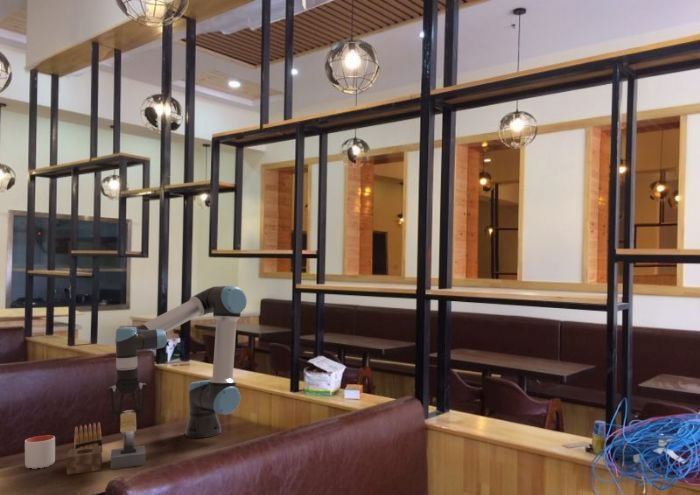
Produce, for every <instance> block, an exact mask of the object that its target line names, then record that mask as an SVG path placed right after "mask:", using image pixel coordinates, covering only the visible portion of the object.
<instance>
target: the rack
mask: <svg viewBox="0 0 700 495" xmlns="http://www.w3.org/2000/svg"><path fill="white" fill-rule="evenodd" d="M102 453H103V445H102V446H95V447H87V448H78V449H74V448H71V449H69V451H68V453H67V454H66V475H75V474H80V473H87V472H88V473H89V472H95V471H97V472H99V471H101V470H102V469H101V467H102V462H103V458H102V457H103V456H102Z"/></svg>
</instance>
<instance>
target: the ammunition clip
mask: <svg viewBox="0 0 700 495" xmlns="http://www.w3.org/2000/svg"><path fill="white" fill-rule="evenodd" d="M73 438H74V439H73V449H78V448H87V447H95V446H102V447H103V440H102V430H101V423H100V422H99V421H98V422H97V426H96V422H93V425H92V424H91V423H89V424H88V427H87V424H84V426H82V425H79V430H78V426H77V425H76V426H75V427H74V437H73Z"/></svg>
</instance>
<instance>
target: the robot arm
mask: <svg viewBox="0 0 700 495" xmlns="http://www.w3.org/2000/svg"><path fill="white" fill-rule="evenodd" d="M247 301H248V300H247V296H246V294H245V292H244V291H243V290H242V289H241V288H240V287H239V286H236V285H235V286H234V285H222V286H221V285H219V286H217V285H216V286H212V287H210V288H207V289H204V290H202V291H201V292H199V293H197V294H195V295H193V296H190V298H189V300H187V301H186V302H183V303H182V304H179V306H177V307H174V308H171V309H170V310H168V311H166V312H164V313H163V314H159V315H158V316H156V317H153V318H151V319H150V320H148V321H146V322H144V323H142V324H140V325H138V326H124V327H118V328H116V330H115V339H114V340H115V364H116V365H115V366H116V369H117V370H116V381H115V382H116V383H115V384H114V385H112V386H109V387H108V391H109V393H110V403H111V413H112V414H113V415H116V417H117V419H116V420H117V424H118V425H119V424H121V418H120V414H122V409H123V403H124V398H125V395H126V394H130V395H131V398H132V403H133V406H134V412H135V431H134V432H137V422H140V413H141V412H142V411H143V412H144V411H145V390H146V387H147V383H145V382H144V383H142V382H140V380H139V373H138V372H139V370H138V368H137V367H138V364H139V362H138V352H141V351H148V350H158V349H162V348H163V349H164V348H165V347H166V345H167V342H168V335H167V333H168V332H169V331H171V330H174V329H175V328H177V327H179V326H181V325H183V324H185V323H187V322H189V321H190V320H193V319H194V318H196V317H199V318H200V317H203V316H205V315H208V314H212V316H213V318H214V319H215V336H214V338H215V339H214V348H213V349H214V352H213V363H212V364H213V365H212V377H211V378H209V379H207V380H206V379H205V380H200V381H199V380H198V381H193V382H191V383H189V385H188V405H189V406H188V408H189V409H188V410H189V418H188V421H187V425H186V428H185V436H186V437H187V436H188V438H191V439H192V438H194V439H197V438H198V439H200V438H209V437H214V436H217V435H220V434H221V433H222V428H221V423H220V421H219V418H218V415H230V414H232V413H233V412H235V410H236V409H238V407H239V405H240V402H241V393H240V391H239V389H238V388H237V381H236V379H235V378H234V365H235V352H236V351H235V349H236V335H237V322H238V321H239V319H241V315H242V314H241V313H243V311H244V309H245V308H246V307H247ZM138 387H139V389H140V407H139V404H138V400H137V395H136V392H135V391H136V390H137V389H138ZM116 389H117V390H118V392H120V396H119V401H118V407H117V409H116V398H115V392H116ZM120 433H121V434H123V432H120Z"/></svg>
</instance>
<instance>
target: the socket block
mask: <svg viewBox="0 0 700 495" xmlns="http://www.w3.org/2000/svg"><path fill="white" fill-rule="evenodd" d="M146 454H147V453H146V446H145V445H139V446H135V449H133V450H128V451H125V450H124V449H123V448H114V449H111V450H110V470H116V469H123V468H129V467H136V466H137V467H140V466H145V465H146V464H147V463H146V461H147V457H146Z"/></svg>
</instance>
